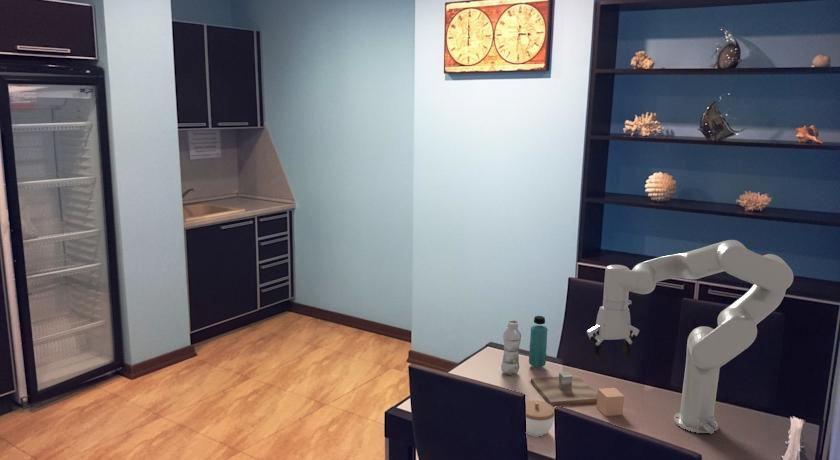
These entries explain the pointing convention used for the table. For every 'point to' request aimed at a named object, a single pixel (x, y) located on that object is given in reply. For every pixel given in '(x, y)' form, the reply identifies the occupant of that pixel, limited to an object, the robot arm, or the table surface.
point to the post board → (564, 390)
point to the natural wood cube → (610, 401)
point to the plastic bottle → (511, 349)
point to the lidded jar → (538, 417)
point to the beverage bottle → (538, 342)
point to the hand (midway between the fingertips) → (611, 354)
